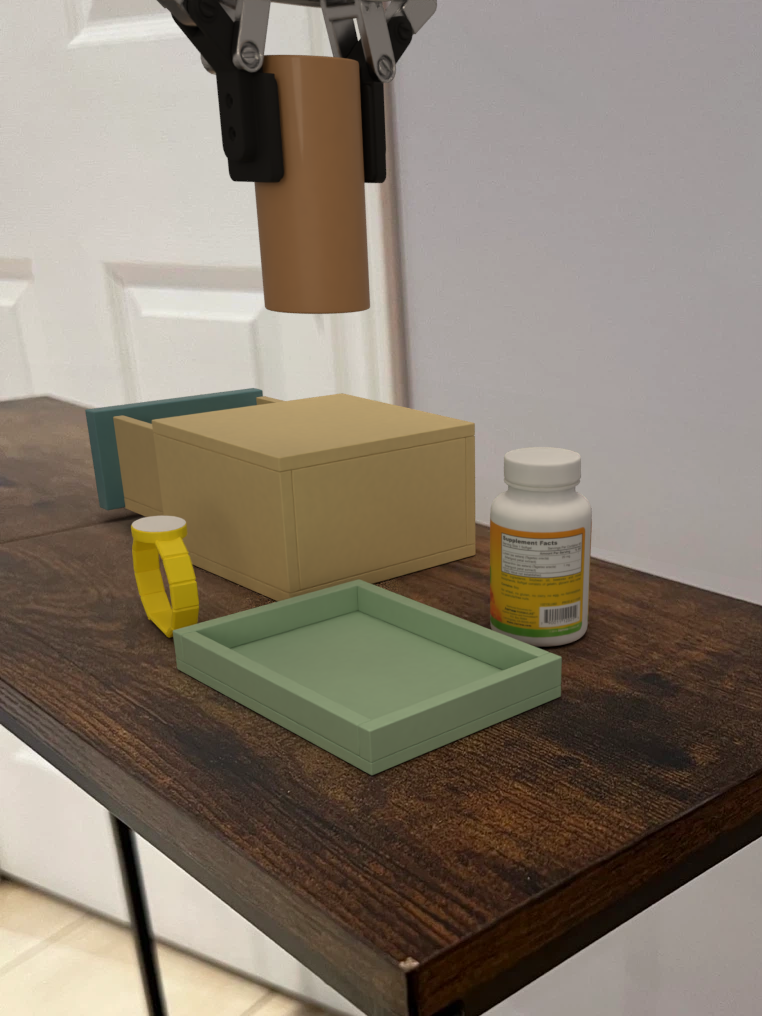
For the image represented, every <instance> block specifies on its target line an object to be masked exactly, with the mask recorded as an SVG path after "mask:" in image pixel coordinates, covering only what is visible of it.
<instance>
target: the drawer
mask: <svg viewBox="0 0 762 1016" xmlns="http://www.w3.org/2000/svg"><path fill="white" fill-rule="evenodd" d="M283 401H284V400H283V399H279V398H274V397H271V396H265V395H264V391H263V389H261V388H255V387H249V388H243V389H242V388H241V389H233V390H226V391H217V392H211V393H203V394H202V393H201V394H196V395H195V394H194V395H187V396H179V397H172V398H165V399H156V400H148V401H141V402H133V403H124V404H117V405H110V406H101V407H95V408H86V409H85V411H84V412H85V418H86V419H85V420H86V425H87V433H88V439H89V446H90V453H91V458H92V465H93V471H94V479H95V484H96V485H95V486H96V492H97V493H96V494H97V499H98V506H99V508H100V509H103V510H105V511H113V510H118V509H123V508H124V509H126V510H128V511H131V512H133V513H135V514H138V515H140V516H143V517H144V518H145V517H150V516H164V515H163V507H162V499H161V491H160V483H159V475H158V467H157V459H156V451H155V443H154V435H153V434H154V433H153V428H152V420H155V419H162V418H169V417H176V416H183V415H190V414H197V413H205V412H212V411H219V410H226V409H233V408H240V407H247V406H255V405H262V404H269V403H276V402H283Z"/></svg>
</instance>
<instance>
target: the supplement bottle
mask: <svg viewBox="0 0 762 1016" xmlns="http://www.w3.org/2000/svg"><path fill="white" fill-rule="evenodd" d="M581 479H582V456H581V455H580V453H578V451H577V452H576V451H574V450H571V449H567V448H562V447H552V446H551V447H550V446H531V447H521V448H515V449H512V450H509V451H507V452H505V454H504V457H503V482H504V484H505V485H506V486H507V490H504V491H503V492H501V493H499V494H498V495H497V496H496V497H494V499H493V500H492V502H491V505H490V509H489V510H490V513H489V619H490V620H489V621H490V623H489V624H490V628H491V629H490V630H493V631H495V632H498V633H501V634H503V635H506V636H508V637H511V638H514V639H516V640H519V641H521V642H524V643H527V644H529V645H532V646H535V647H537V648H540V647H541V648H542V647H543V648H548V647H549V648H550V647H557V646H564V645H567V644H571V643H574V642H575V641H577V640H579V639H581V638H582V637H584V635H585V634H586V632H587V630H588V625H589V611H590V609H589V608H590V606H589V603H590V582H591V581H590V577H591V557H592V556H591V553H592V531H593V530H592V527H593V510H592V505H591V503H590V501H589V500H588V498H586V497H585V496H584V494H582V493H580V492H578V491H576V487H578V486H579V485H580V483H581Z"/></svg>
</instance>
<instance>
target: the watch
mask: <svg viewBox="0 0 762 1016" xmlns="http://www.w3.org/2000/svg"><path fill="white" fill-rule="evenodd" d="M130 530H131V537H132V545H131V549H132V550H131V554H132V555H131V556H132V565H133V572H134V573H133V574H134V579H135V582H136V583H135V584H136V586H137V587H136V588H137V592H138V595H139V599H140V601H141V604H142V607H143V610H144V612H145V615H146V617H147V620H148V621H151V622H152V623H153V624H154V625H155V626H156V627H157V628H158V629H159V630H160V631H161V632H162V633H163V634H164V636H166V638H168V639H170V638H173V630H176V629H180V628H183V627H187V626H191V625H194V624H198V623H199V614H200V613H199V612H200V599H199V598H200V597H199V590H198V582H197V581H196V579H197V577H196V573H195V569H194V565H193V564H192V562H191V558H190V556H189V555H188V554H189V552H188V550H187V548H186V546H185V544H184V542H183V540H182V539H183V538H185V537H186V536H187V524H186V521H185V520H184V519H182V518H179V517H175V516H150V517H145V516H144V517H141V518H139V519H136V520H134V521H132V523H131V525H130ZM160 559H161V560H162V565H163V568H164V571H165V572H164V573H165V575H166V579H167V582H168V585H169V586H168V588H169V596H170V600H169V597H168V595H167V592H166V589H165V588H166V587H165V583H164V580H163V576H162V572H161V571H162V570H161V565H160Z"/></svg>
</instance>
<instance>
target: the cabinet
mask: <svg viewBox="0 0 762 1016" xmlns="http://www.w3.org/2000/svg"><path fill="white" fill-rule="evenodd" d="M152 428H153V433H154V434H153V435H154V443H155V451H156V459H157V467H158V475H159V483H160V491H161V499H162V507H163V515H164V516H175V517H179V518H182V519H184V520H185V521H186V524H187V536H186V537H185V538H183V539H182V540H183V542H184V544H185V546H186V548H187V550H188V552H189V554H188V555H189V556H190V558H191V562H192V566H195V567H198V568H199V569H202V570H203V571H206V572H209V573H211V574H214V575H216V576H218V577H220V578H223V579H224V580H228V581H230V582H232V583H234V584H236V585H239V586H241V587H243V588H246V589H248V590H250V591H253V592H255V593H258V594H260V595H261V596H264V597H266V598H269V599H272V600H274V601H275V602H278V601H282V600H285V599H289V598H293V597H296V596H300V595H304V594H307V593H311V592H315V591H318V590H322V589H325V588H329V587H333V586H336V585H340V584H344V583H347V582H351V581H355V580H358V579H360V580H362V581H365V582H367V583H370V584H373V585H374V584H377V583H381V582H383V581H387V580H391V579H395V578H399V577H401V576H405V575H409V574H413V573H416V572H419V571H423V570H427V569H429V568H433V567H438V566H441V565H445V564H448V563H451V562H455V561H459V560H462V559H467V558H469V557H473V556H475V555H476V423H475V422H473V421H468V420H463V419H458V418H454V417H450V416H445V415H441V414H437V413H433V412H428V411H424V410H419V409H415V408H409V407H405V406H401V405H396V404H392V403H387V402H384V401H379V400H375V399H369V398H367V397H361V396H356V395H353V394H347V393H343V392H340V393H333V394H327V395H320V396H313V397H305V398H299V399H291V400H283V402H276V403H269V404H262V405H255V406H247V407H240V408H233V409H226V410H219V411H212V412H205V413H197V414H190V415H183V416H176V417H169V418H162V419H155V420H152Z"/></svg>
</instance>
